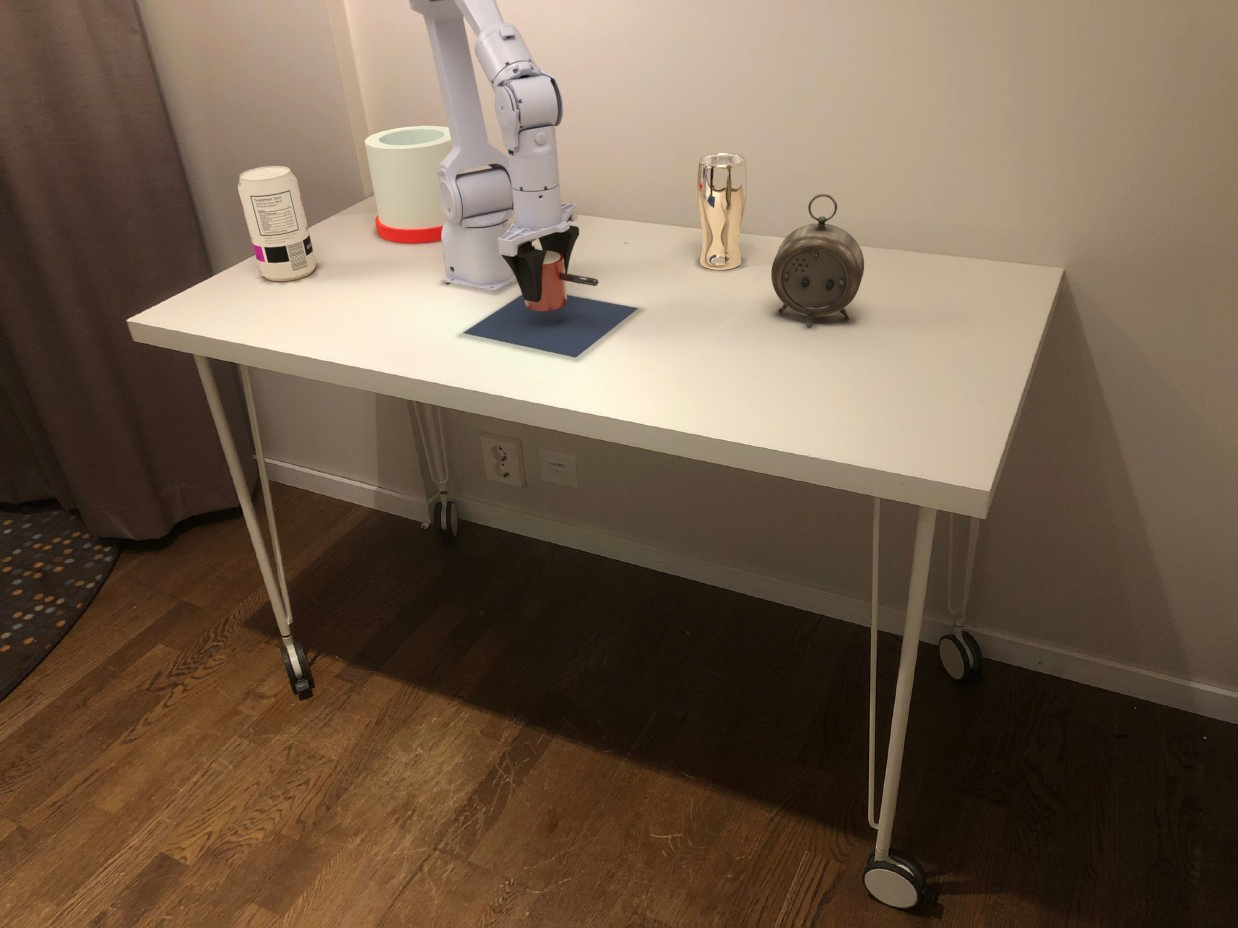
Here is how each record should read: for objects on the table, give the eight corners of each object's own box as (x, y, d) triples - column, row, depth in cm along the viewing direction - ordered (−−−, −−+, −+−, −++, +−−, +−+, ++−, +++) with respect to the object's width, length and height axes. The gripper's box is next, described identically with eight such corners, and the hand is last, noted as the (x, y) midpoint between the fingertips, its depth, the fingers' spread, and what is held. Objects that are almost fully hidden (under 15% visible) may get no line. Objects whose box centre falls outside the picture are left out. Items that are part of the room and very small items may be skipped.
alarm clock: (859, 316, 119) (872, 190, 110) (853, 334, 115) (867, 204, 106) (774, 308, 122) (780, 184, 114) (766, 325, 118) (772, 198, 109)
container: (491, 216, 159) (481, 128, 151) (439, 247, 147) (425, 153, 139) (413, 208, 165) (399, 122, 157) (357, 237, 153) (339, 146, 145)
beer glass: (742, 272, 133) (745, 166, 125) (693, 270, 135) (693, 165, 127) (746, 255, 139) (749, 152, 131) (699, 253, 140) (700, 152, 132)
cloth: (462, 334, 119) (462, 332, 119) (531, 290, 131) (531, 288, 131) (575, 359, 112) (575, 357, 112) (638, 310, 124) (638, 308, 124)
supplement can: (249, 280, 139) (222, 179, 131) (285, 260, 145) (261, 163, 137) (293, 285, 136) (268, 183, 128) (328, 265, 143) (306, 166, 134)
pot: (516, 307, 118) (511, 261, 115) (539, 291, 122) (535, 247, 119) (588, 321, 114) (585, 274, 111) (610, 305, 118) (608, 259, 115)
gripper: (529, 206, 104) (540, 318, 111) (595, 172, 115) (600, 276, 122) (478, 199, 107) (492, 309, 114) (546, 166, 118) (555, 268, 125)
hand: (544, 291), depth 118 cm, fingers closed on pot, 5 cm apart
